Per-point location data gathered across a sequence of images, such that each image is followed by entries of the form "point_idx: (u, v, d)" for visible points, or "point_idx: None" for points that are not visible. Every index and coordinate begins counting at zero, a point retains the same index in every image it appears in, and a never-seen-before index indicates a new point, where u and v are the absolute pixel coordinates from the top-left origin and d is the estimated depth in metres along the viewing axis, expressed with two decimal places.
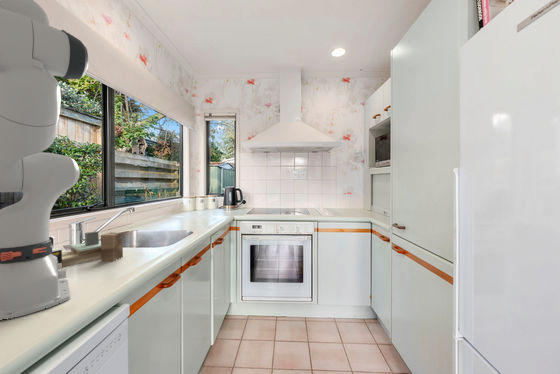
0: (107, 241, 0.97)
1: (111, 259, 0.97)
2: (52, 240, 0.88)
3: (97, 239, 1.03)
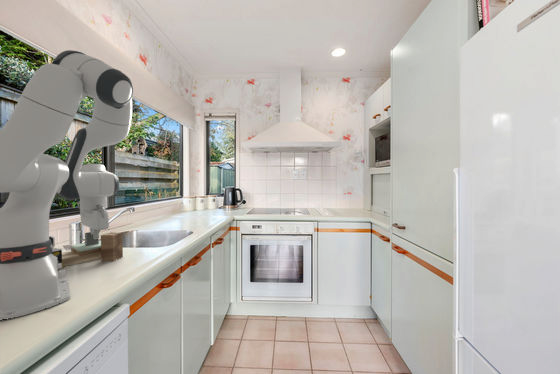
0: (107, 241, 0.97)
1: (111, 259, 0.97)
2: (52, 240, 0.88)
3: (97, 239, 1.04)
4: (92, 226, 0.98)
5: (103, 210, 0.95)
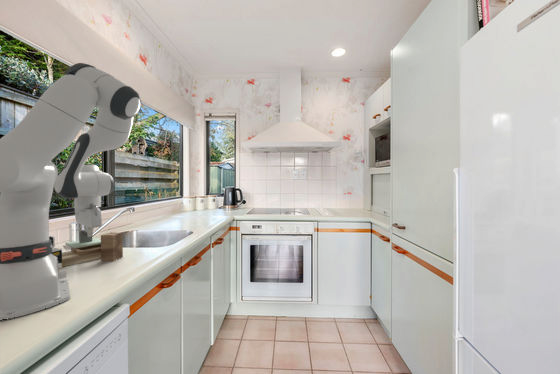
0: (107, 241, 0.97)
1: (111, 259, 0.97)
2: (52, 240, 0.88)
3: (91, 237, 1.08)
4: (86, 224, 1.02)
5: (96, 209, 0.99)
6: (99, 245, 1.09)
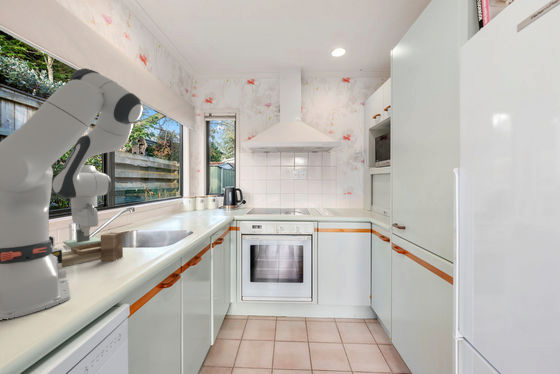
0: (107, 241, 0.97)
1: (111, 259, 0.97)
2: (52, 240, 0.88)
3: (88, 236, 1.10)
4: (82, 223, 1.04)
5: (93, 208, 1.01)
6: (99, 245, 1.09)
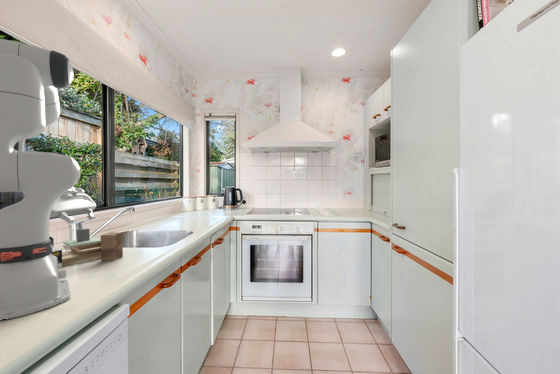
0: (107, 241, 0.97)
1: (111, 259, 0.97)
2: (52, 240, 0.88)
3: (88, 236, 1.10)
4: None
5: None
6: (99, 245, 1.09)
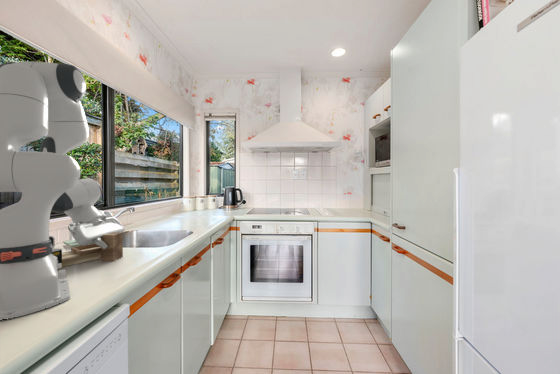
0: (107, 241, 0.97)
1: (111, 259, 0.97)
2: (52, 240, 0.88)
3: None
4: None
5: (68, 228, 0.90)
6: None
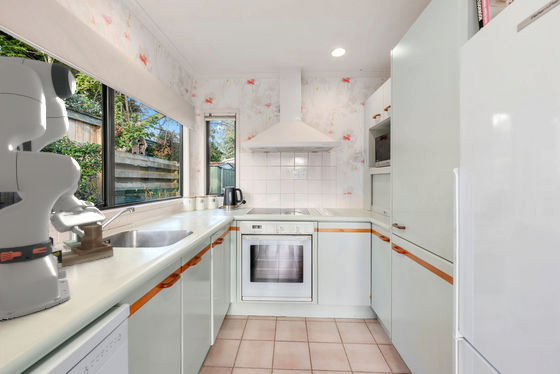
0: None
1: None
2: (52, 240, 0.88)
3: None
4: None
5: None
6: None
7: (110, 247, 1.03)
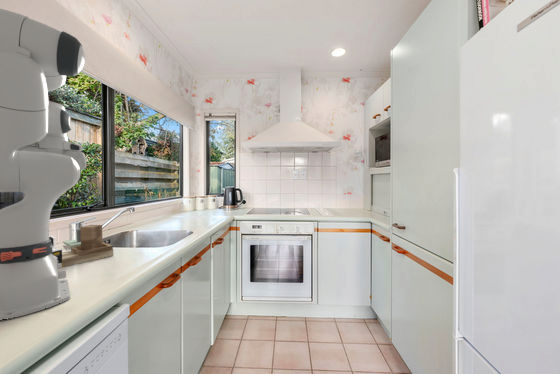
0: (86, 233, 1.00)
1: None
2: (52, 240, 0.88)
3: None
4: None
5: None
6: None
7: (110, 247, 1.03)
